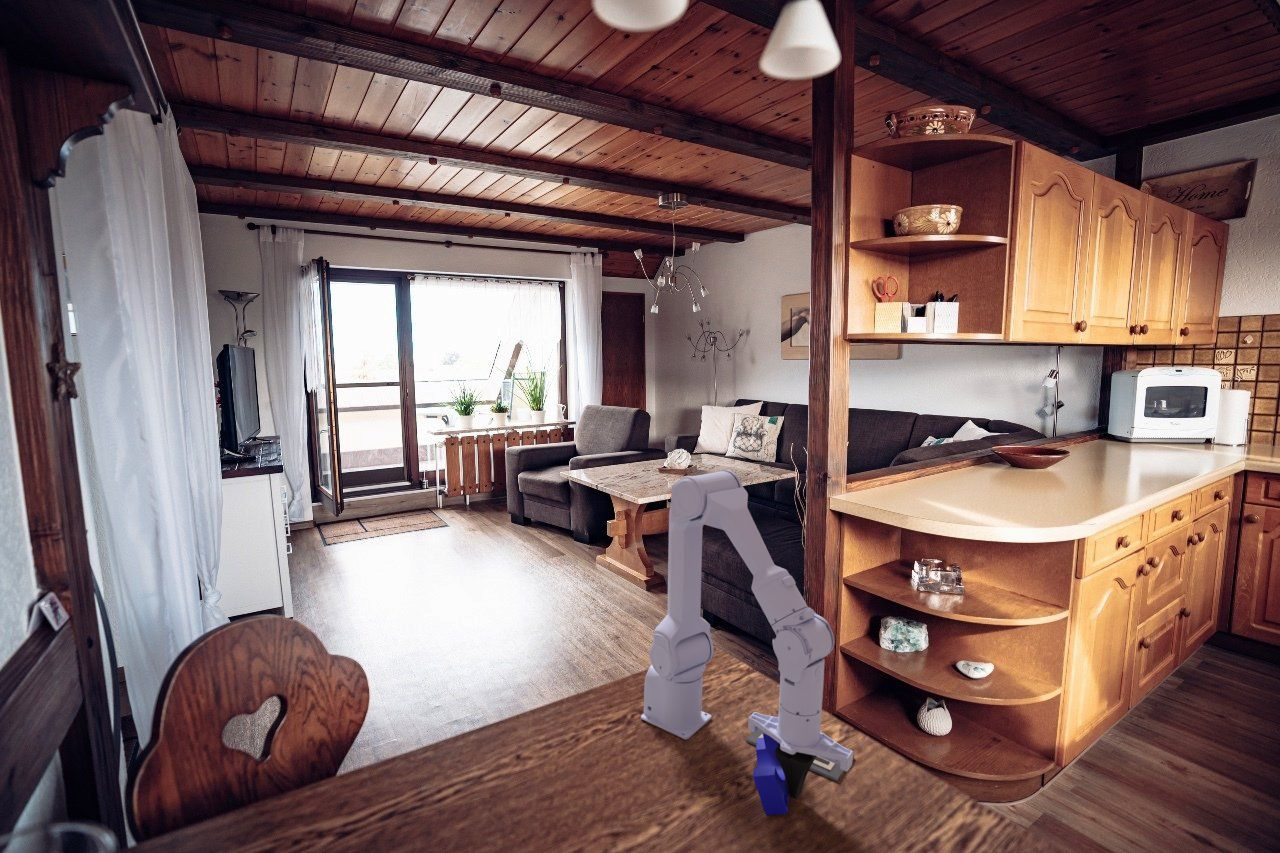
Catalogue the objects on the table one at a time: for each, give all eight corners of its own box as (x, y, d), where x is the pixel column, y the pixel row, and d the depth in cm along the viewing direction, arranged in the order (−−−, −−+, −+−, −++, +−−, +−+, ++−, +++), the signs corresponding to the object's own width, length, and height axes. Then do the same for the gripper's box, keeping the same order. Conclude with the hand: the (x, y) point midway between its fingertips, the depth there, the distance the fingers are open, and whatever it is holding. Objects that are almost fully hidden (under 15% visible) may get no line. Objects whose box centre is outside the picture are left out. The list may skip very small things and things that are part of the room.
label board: (746, 741, 102) (746, 737, 102) (765, 721, 108) (765, 717, 108) (837, 782, 93) (837, 777, 93) (853, 757, 99) (854, 753, 99)
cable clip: (763, 755, 98) (751, 720, 97) (792, 752, 97) (780, 717, 96) (755, 815, 87) (742, 777, 86) (787, 813, 85) (774, 774, 85)
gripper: (739, 698, 88) (735, 787, 90) (841, 738, 80) (835, 836, 82) (762, 677, 94) (758, 761, 96) (860, 713, 85) (854, 805, 87)
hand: (795, 794), depth 89 cm, fingers closed
